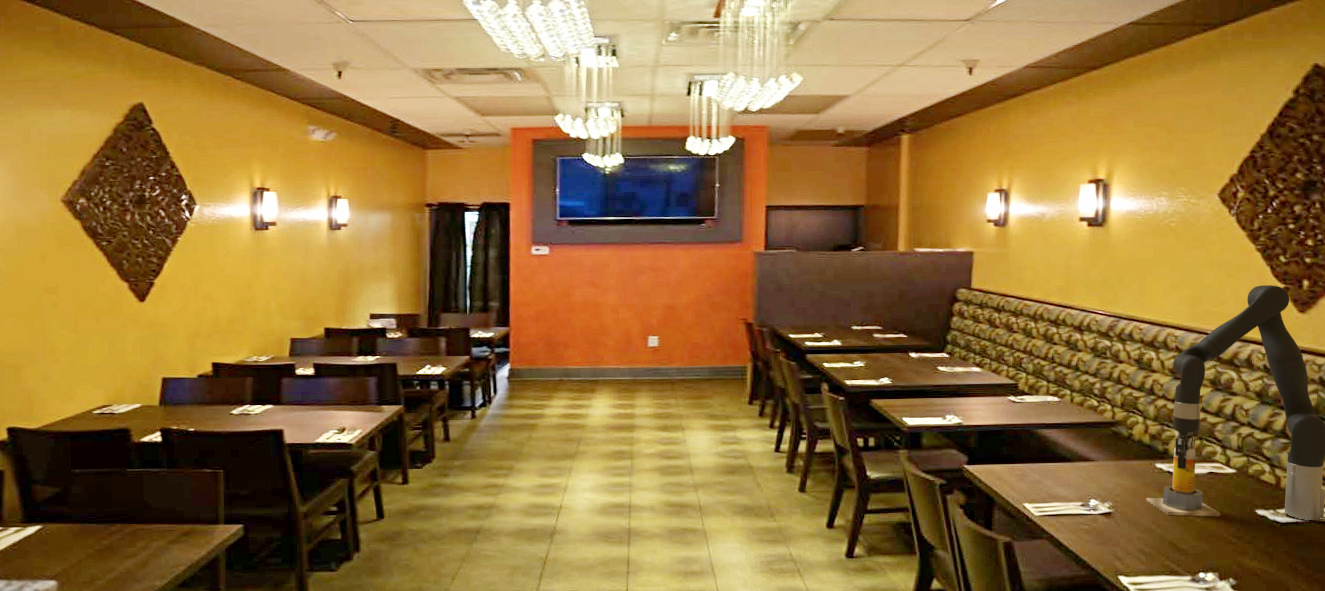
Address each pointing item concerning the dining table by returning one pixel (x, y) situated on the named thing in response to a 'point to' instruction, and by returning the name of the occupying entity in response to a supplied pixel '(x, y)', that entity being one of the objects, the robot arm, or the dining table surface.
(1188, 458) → the beer can
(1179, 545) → the dining table surface
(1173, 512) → the birch board
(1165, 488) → the gray faceted bowl
